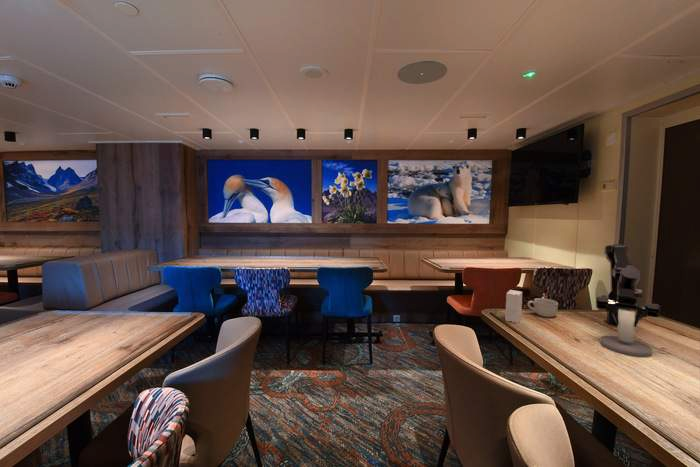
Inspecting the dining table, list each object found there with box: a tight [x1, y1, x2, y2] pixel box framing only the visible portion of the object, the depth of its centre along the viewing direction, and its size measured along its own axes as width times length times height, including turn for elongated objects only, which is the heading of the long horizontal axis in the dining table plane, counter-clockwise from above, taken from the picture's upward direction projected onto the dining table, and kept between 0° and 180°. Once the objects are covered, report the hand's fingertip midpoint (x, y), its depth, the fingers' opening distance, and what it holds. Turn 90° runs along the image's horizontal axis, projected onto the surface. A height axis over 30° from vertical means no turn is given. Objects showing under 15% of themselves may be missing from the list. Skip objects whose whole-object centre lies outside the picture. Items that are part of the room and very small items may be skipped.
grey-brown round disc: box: [599, 335, 653, 358], centre depth 115 cm, size 15×15×2 cm
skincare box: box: [504, 289, 523, 324], centre depth 147 cm, size 8×6×15 cm
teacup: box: [526, 297, 559, 318], centre depth 154 cm, size 14×11×8 cm
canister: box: [616, 309, 636, 343], centre depth 115 cm, size 5×5×12 cm
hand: (626, 324), depth 114 cm, fingers closed on canister, 5 cm apart
